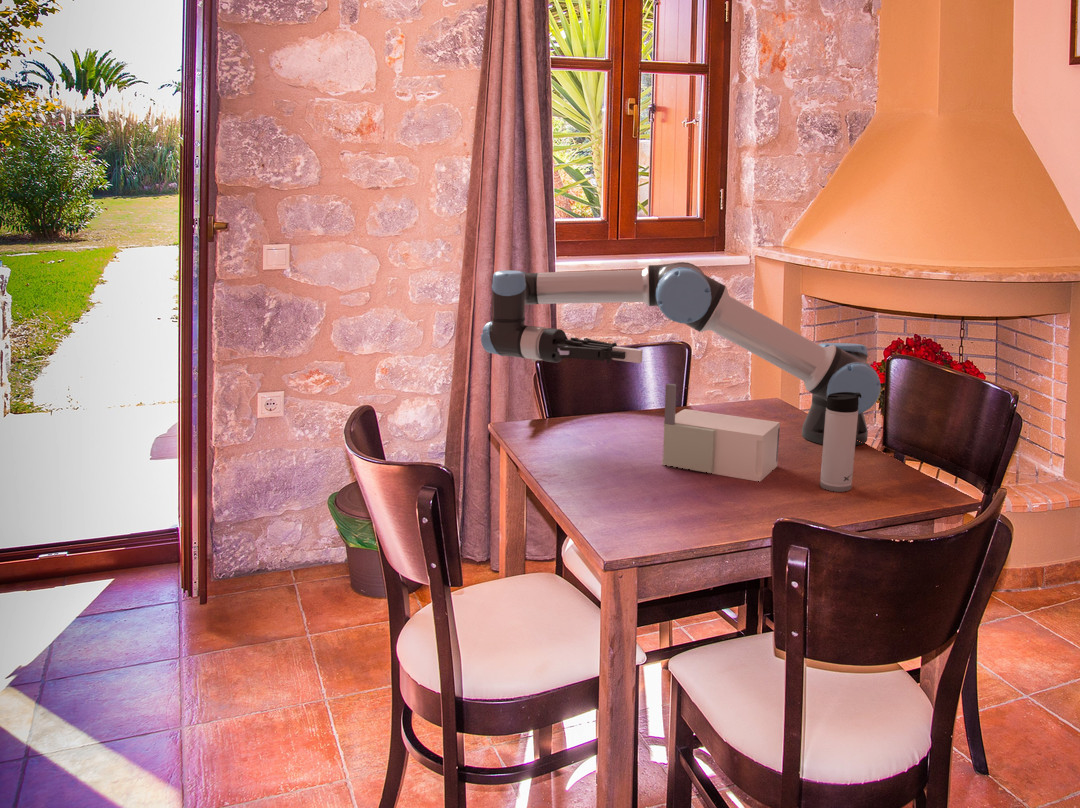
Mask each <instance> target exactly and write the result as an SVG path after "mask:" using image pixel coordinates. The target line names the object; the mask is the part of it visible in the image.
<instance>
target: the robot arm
mask: <svg viewBox="0 0 1080 808" xmlns="http://www.w3.org/2000/svg"><path fill="white" fill-rule="evenodd" d="M491 289H492V290H491V291H492V292H491V293H492V298H491V299H492V318H491V321H488V322H486V324H485V325H484V326H483V328H482V332H481V335H480V343H481V346H482V348H483V349H484V350H485V352H486V353H488V354H494V355H499V356H501V357H510V358H511V357H512V358H513V357H514V358H521V359H529V360H530V359H531V362H533V363H536V361H544V362H549V363H555V364H556V363H560V362H561V361H562V360H564V359H574V360H575V359H576V360H588V361H589V360H590V361H600V362H603V361H605V360H606V364H611V360H612V361H619V362H627V363H628V362H629V363H634V364H641V363H643V353H644V352H643V351H644V350H643V349H639V348H633V347H632V348H631V347H623V346H618V344H617V342H612V343H611V342H605V341H599V340H594V339H591V338H589V337H585V338H584V337H583V339H582V338H581V339H579V338H578V337H570V338H568V337H567V334H566V332H565V331H564V330H563V329H559V328H551V327H545V326H535V325H534V326H533V325H526V305H548V304H549V305H551V304H552V305H553V304H558V305H559V304H604V303H605V304H607V303H612V304H613V303H644V304H645V305H646V306H648V307H658V309H659V310H660V312H661V313H662V314H664V316H665V317H666V318H667V319H669V320H670V321H673V322H675V323H679V324H685V325H686V326H688V327H690V328H692V329H693V330H695V331H698V332H699V333H703V332H706V331H710V332H713V333H715V334H717V335H719V336H721V337H723V338H724V339H726V340H728V341H729V342H731V343H734V344H735V345H737V346H738V347H741V348H743V349H744V350H746V351H748V352H750V353H751V354H753V355H755V356H757V357H759V358H761V359H763V360H765V361H767V362H768V363H770V364H771V365H773V366H775V367H777V368H778V369H781V370H783V371H784V372H786V373H787V374H790V375H791V376H794V377H795V378H797V379H799V380H800V381H802V382H803V383H804V387H805V391H807V392H808V393H811V394H812V396H811V398H812V399H811V405H810V407H809V410H808V412H807V415H806V417H805V420H804V421H803V424H802V428H801V436H802V438H804V439H805V440H807V441H809V442H812V443H816V444H819V445H823V439H824V427H825V414H826V405H827V397H828V395H829V394H833V393H838V392H853V393H856V392H857V393H860V394H861V398H860V397H859V399H858V401H859V405H858V420H857V431H856V442H855V446H860V445H863V444H866V443H867V441H868V435H869V432H868V431H869V430H868V426H867V422H866V421H867V420H866V419H865V418H866V417H865V414H864V413H866V411H868V410H870V409H871V408H872V407H873V406H874V405H875V404H876V403H877V401H878V399H879V397H880V394H881V391H882V390H881V387H882V386H881V380H880V377H879V374H878V372H877V371H876V369H875V368H874V367H872V366H871V365H870V364H869V363H868V362H867V360H868V357H869V354H868V353H869V352H868V347H867V346H866V345H865V344H860V343H849V342H848V343H847V342H846V343H845V342H822V343H816V342H814V341H813V340H810V339H808V338H807V337H806V336H804V335H802V334H799V333H798V332H795V331H794V330H793V329H790V328H789V327H787V326H785V325H784V324H782V323H779V322H778V321H776V320H774V319H772V318H770V317H769V316H766V315H764V314H763V313H762V312H759V311H758V310H755V309H754V308H753V307H751V306H748V305H747V304H745V303H743V302H741V301H740V300H738V299H736V298H734V297H732V296H731V295H730V294H729V291H728V287H727V286H726V285H724V284H723V283H721V282H720V281H717V280H715V279H714V278H711V277H710V276H708V275H706V274H705V273H704V272H703V271H702V269H701V268H700V267H699V266H697V265H695V264H693V263H691V262H684V261H679V262H672V263H664V264H649V265H646V266H645V267H644V268H643V269H628V270H626V269H623V270H621V269H620V270H593V271H591V270H588V271H587V270H586V271H585V270H584V271H583V270H582V271H555V272H554V271H553V272H551V271H549V272H546V271H545V272H525V271H519V270H513V269H512V270H509V269H508V270H498V271H495V272H494V273H493V275H492V284H491ZM857 440H858V441H857ZM859 441H860V442H859ZM861 442H862V443H861Z"/></svg>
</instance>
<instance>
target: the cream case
mask: <svg viewBox="0 0 1080 808" xmlns="http://www.w3.org/2000/svg"><path fill="white" fill-rule="evenodd" d="M675 424H678V425H685V426H691V427H698V428H705V429H711V430H715V442H714V462H713V472H712V475H717V476H725V477H729V478H730V477H731V478H735V479H741V480H748V481H752V482H753V481H755V482H758V481H759V482H762V481H763V480H764V479H765V478H766V477H767V476H768V475H770V473H771V472H773V471H774V470H775V469H776V468H777V467H778V457H779V443H780V427H781V421H773V420H766V419H759V418H754V417H753V418H751V417H745V416H738V415H731V414H723V413H716V412H710V411H701V410H696V409H688V408H684V409H682V410H680V411H679V412H677V413H675ZM661 465H662V466H664V465H663V459H662V461H661ZM666 467H669V466H668V465H667V466H666ZM672 468H675V467H674V466H673V467H672ZM677 469H681V468H680V467H678V468H677ZM682 470H687V469H686V468H683V469H682ZM772 470H773V471H772ZM689 471H692V470H691V469H690V470H689ZM693 471H695V472H698V471H697V470H693ZM699 472H700V473H701V472H702V473H704V472H703V471H699ZM707 473H708V474H710V473H709V472H707ZM707 473H706V474H707ZM759 482H758V483H759Z"/></svg>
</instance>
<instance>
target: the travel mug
mask: <svg viewBox="0 0 1080 808" xmlns="http://www.w3.org/2000/svg"><path fill="white" fill-rule="evenodd" d="M859 397H860V398H861V394H860V393H857V392H856V393H853V392H838V393H833V394H829V395H828V397H827V405H826V414H825V427H824V439H823V444H822V454H821V466H820V467H821V468H820V478H819V479H820V480H819V486H820V487H821V488H822V489H824V490H825V489H826V491H828V490H829V492H833V491H834V493H844V492H845V491H846V492H849V491H851V489H852V488H853V487H852V486H853V477H854V476H853V475H854V474H853V473H854V464H855V455H856V453H855V451H856V445H855V442H856V431H857V420H858V405H859V401H858V399H859Z"/></svg>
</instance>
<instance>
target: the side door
mask: <svg viewBox="0 0 1080 808" xmlns="http://www.w3.org/2000/svg"><path fill="white" fill-rule="evenodd" d="M664 394H665V398H664V420H663V449H662V451H663V452H662V454H663V455H662V460H663V465H662V466H665V465H668V466H667V467H670V466H674V467H673V468H676V467H680V468H679V469H682V468H686V469H685V470H688V469H691V470H690V471H694V470H697V471H696V472H700V471H703V472H702V473H706V472H709V473H708V474H711V473H712V472H713V462H714V442H715V430H711V429H705V428H698V427H691V426H685V425H678V424H675V414H676V404H677V403H676V402H677V384H675V383H666V384H665V393H664Z"/></svg>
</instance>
